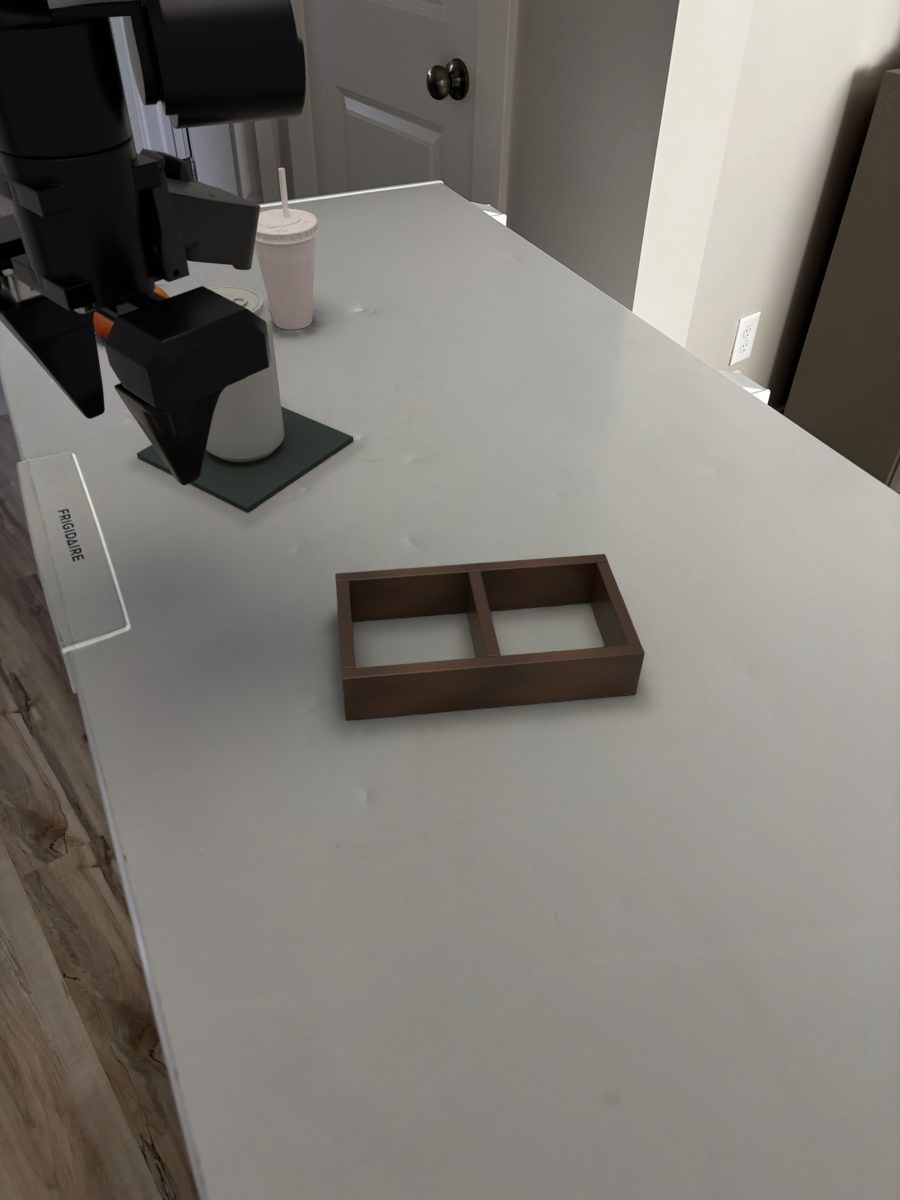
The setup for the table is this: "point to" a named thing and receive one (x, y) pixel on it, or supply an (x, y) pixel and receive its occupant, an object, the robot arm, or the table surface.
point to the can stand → (487, 636)
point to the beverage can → (248, 399)
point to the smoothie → (287, 261)
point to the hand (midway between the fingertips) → (140, 446)
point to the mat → (265, 463)
